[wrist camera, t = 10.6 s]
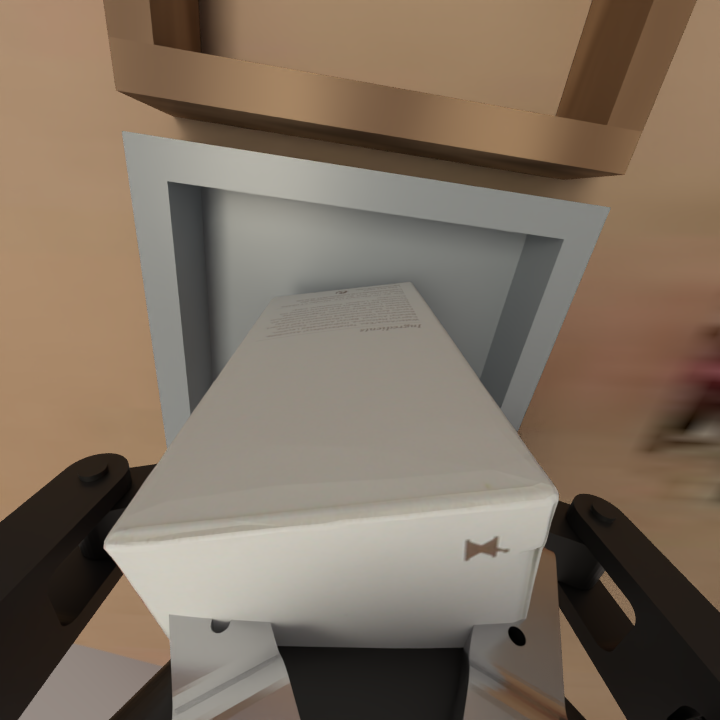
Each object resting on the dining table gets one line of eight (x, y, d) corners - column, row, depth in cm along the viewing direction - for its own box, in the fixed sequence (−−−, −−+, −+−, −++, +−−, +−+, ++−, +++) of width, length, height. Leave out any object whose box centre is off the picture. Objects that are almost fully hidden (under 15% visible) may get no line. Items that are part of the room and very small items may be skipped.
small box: (272, 293, 13) (75, 536, 4) (414, 277, 13) (577, 488, 4) (307, 451, 17) (250, 782, 7) (419, 440, 17) (510, 763, 7)
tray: (554, 205, 15) (610, 207, 12) (459, 477, 22) (478, 525, 18) (175, 146, 13) (121, 131, 10) (202, 456, 20) (175, 504, 17)
